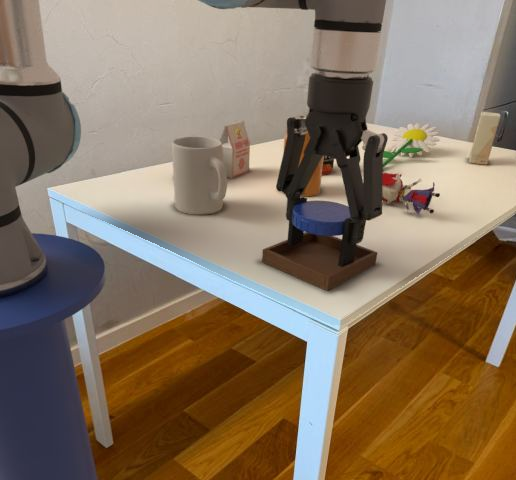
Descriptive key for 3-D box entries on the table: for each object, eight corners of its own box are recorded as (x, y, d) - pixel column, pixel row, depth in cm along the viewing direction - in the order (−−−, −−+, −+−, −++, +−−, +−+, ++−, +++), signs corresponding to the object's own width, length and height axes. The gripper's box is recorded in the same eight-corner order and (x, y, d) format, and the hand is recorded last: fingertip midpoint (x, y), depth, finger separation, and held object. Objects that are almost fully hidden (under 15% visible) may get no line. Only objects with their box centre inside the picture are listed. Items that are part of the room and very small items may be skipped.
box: (486, 165, 123) (501, 116, 117) (468, 163, 124) (481, 114, 118) (486, 160, 127) (500, 112, 121) (468, 158, 128) (481, 111, 122)
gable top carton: (217, 174, 107) (217, 124, 101) (234, 168, 112) (235, 119, 106) (232, 178, 105) (232, 127, 100) (249, 171, 110) (250, 122, 104)
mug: (165, 204, 90) (161, 139, 84) (204, 195, 95) (203, 134, 89) (204, 224, 83) (202, 155, 77) (244, 214, 88) (246, 149, 81)
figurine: (418, 220, 87) (355, 197, 96) (445, 222, 92) (383, 199, 102) (431, 183, 84) (365, 162, 94) (458, 186, 89) (393, 166, 99)
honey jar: (272, 189, 100) (276, 127, 94) (297, 182, 105) (302, 122, 98) (303, 199, 96) (309, 134, 89) (327, 191, 101) (335, 129, 94)
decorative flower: (404, 186, 113) (444, 144, 131) (406, 164, 110) (447, 124, 128) (351, 178, 119) (397, 139, 137) (352, 158, 116) (399, 120, 134)
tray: (261, 262, 72) (262, 249, 71) (312, 241, 79) (313, 228, 78) (327, 291, 66) (329, 277, 64) (375, 265, 73) (378, 252, 72)
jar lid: (366, 225, 69) (369, 212, 68) (329, 241, 64) (331, 227, 63) (317, 209, 74) (319, 196, 73) (279, 222, 69) (280, 208, 68)
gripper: (440, 83, 55) (398, 270, 68) (292, 62, 67) (280, 225, 80) (406, 88, 51) (368, 287, 63) (254, 64, 62) (247, 237, 75)
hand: (319, 252), depth 71 cm, fingers closed on jar lid, 8 cm apart
